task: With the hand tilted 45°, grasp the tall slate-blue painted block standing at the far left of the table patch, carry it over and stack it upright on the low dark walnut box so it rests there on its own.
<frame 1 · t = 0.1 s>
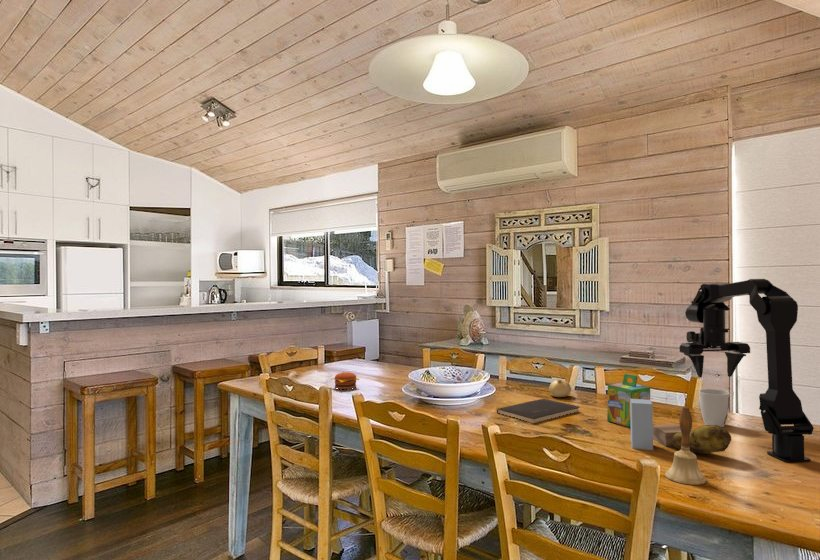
hand: (714, 376, 157), 15 cm above the table, tool pointing down, fingers open, 9 cm apart
chalk box: (628, 423, 162), on the table
hand bell: (685, 478, 118), on the table
slate block: (641, 446, 140), on the table
hamburger: (345, 388, 220), on the table
potato: (701, 455, 133), on the table
cup: (714, 425, 158), on the table
hardcover book: (538, 414, 176), on the table
onion: (560, 397, 199), on the table
walnut box: (671, 443, 143), on the table
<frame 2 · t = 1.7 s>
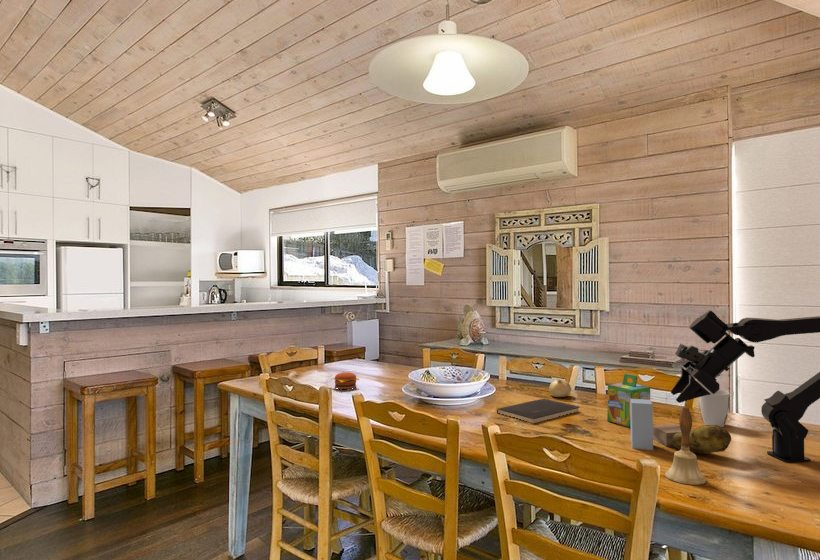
hand: (674, 397, 137), 13 cm above the table, tool tilted 45°, fingers open, 9 cm apart
nothing on the table moved.
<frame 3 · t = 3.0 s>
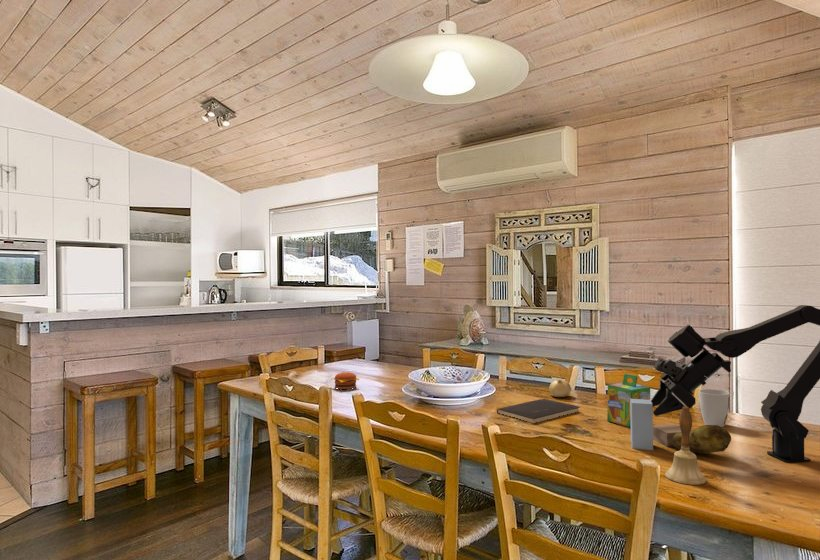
hand: (652, 409, 139), 10 cm above the table, tool tilted 45°, fingers open, 9 cm apart
nothing on the table moved.
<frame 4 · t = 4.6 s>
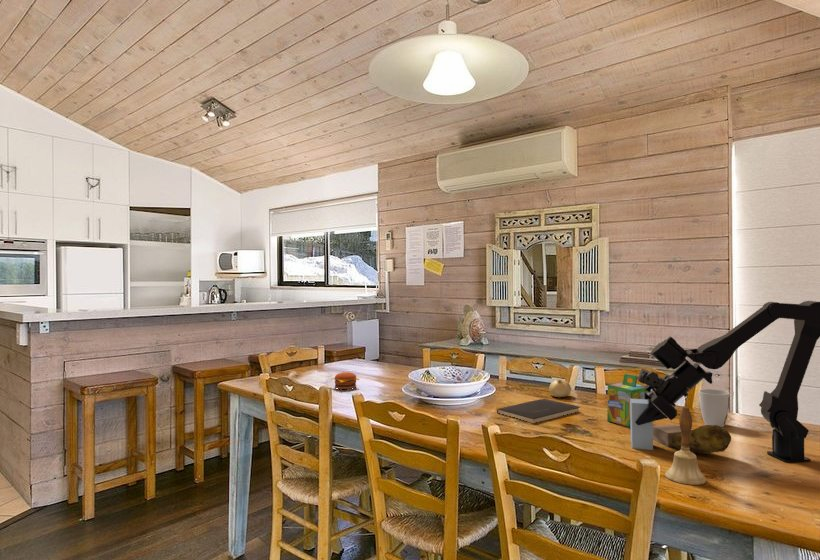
hand: (635, 421, 140), 7 cm above the table, tool tilted 45°, fingers closed on slate block, 5 cm apart
slate block: (641, 446, 140), on the table, touching gripper
everything else where it was.
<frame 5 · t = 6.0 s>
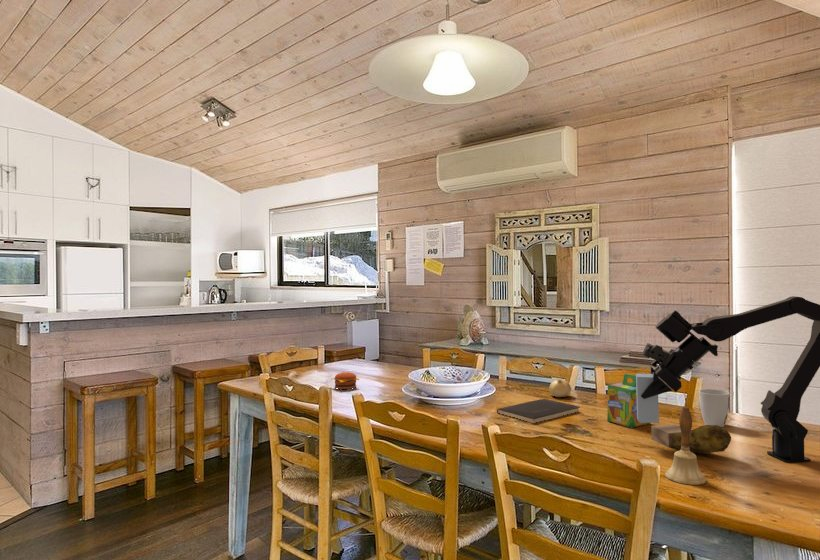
hand: (641, 395, 141), 13 cm above the table, tool tilted 45°, fingers closed on slate block, 5 cm apart
slate block: (647, 420, 140), point 7 cm above the table, touching gripper
everything else where it was.
when the fingers open (11 cm above the table, at t = 7.4 s): slate block stays where it is, resting on walnut box.
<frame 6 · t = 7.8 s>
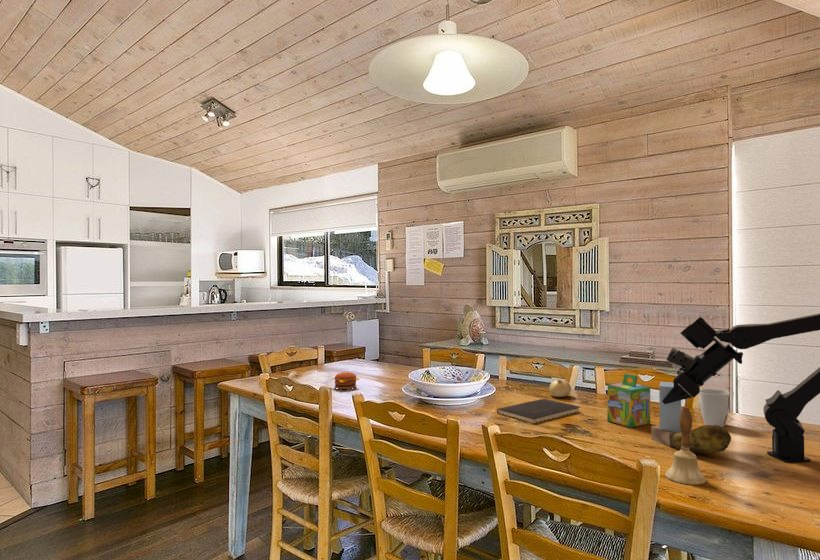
hand: (665, 399, 143), 12 cm above the table, tool tilted 45°, fingers open, 9 cm apart
slate block: (670, 428, 143), point 4 cm above the table, touching walnut box
walnut box: (671, 443, 143), on the table, touching slate block
everything else where it was.
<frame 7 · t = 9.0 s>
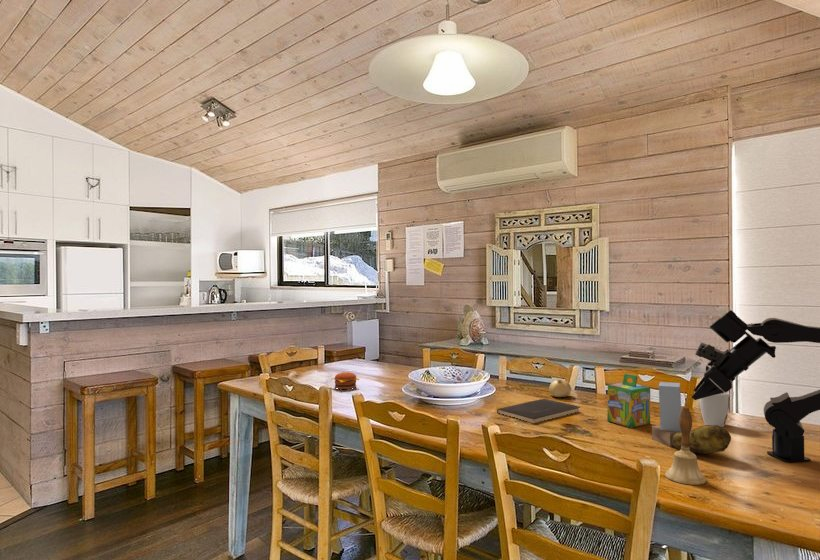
hand: (694, 395, 140), 13 cm above the table, tool tilted 45°, fingers open, 9 cm apart
nothing on the table moved.
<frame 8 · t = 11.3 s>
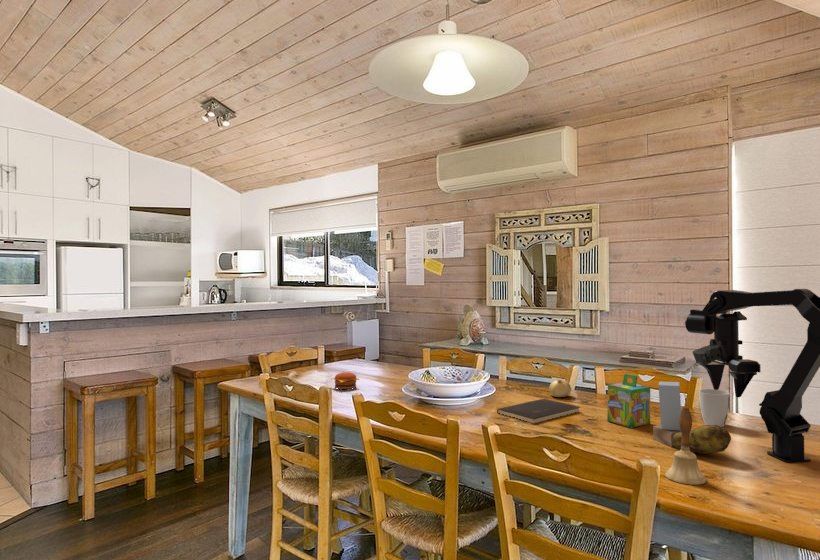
hand: (726, 393, 143), 13 cm above the table, tool pointing down, fingers open, 9 cm apart
slate block: (671, 427, 143), point 4 cm above the table
walnut box: (673, 443, 143), on the table
everything else where it was.
at the end: slate block 0.5 cm off-centre on the walnut box, point 4.0 cm above the walnut box's base; slate block tilted 1°; the gripper is holding nothing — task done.
